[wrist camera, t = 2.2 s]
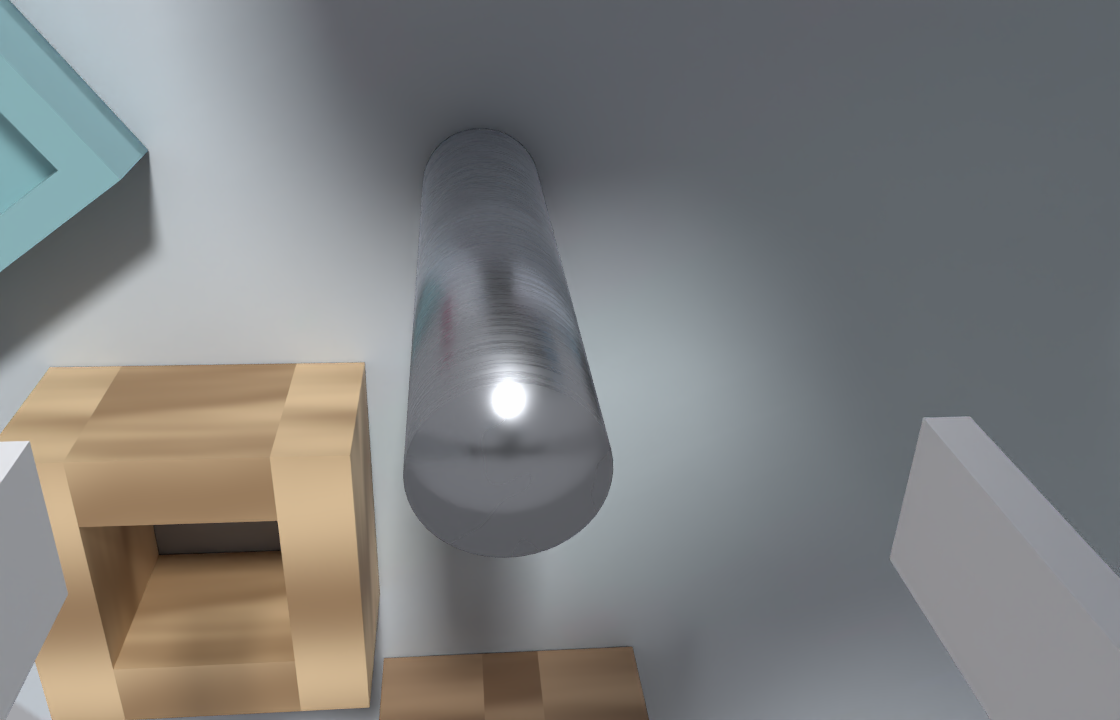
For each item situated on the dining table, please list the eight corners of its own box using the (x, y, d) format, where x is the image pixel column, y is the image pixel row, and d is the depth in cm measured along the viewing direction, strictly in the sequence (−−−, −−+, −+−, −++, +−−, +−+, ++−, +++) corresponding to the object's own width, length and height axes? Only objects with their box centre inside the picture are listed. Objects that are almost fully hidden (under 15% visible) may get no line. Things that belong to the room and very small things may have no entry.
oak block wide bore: (49, 367, 29) (-23, 464, 24) (364, 362, 29) (350, 455, 25) (105, 604, 33) (53, 723, 28) (379, 593, 34) (369, 707, 29)
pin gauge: (421, 128, 26) (399, 385, 14) (540, 129, 27) (620, 381, 14) (424, 240, 28) (407, 561, 16) (537, 239, 28) (606, 553, 16)
